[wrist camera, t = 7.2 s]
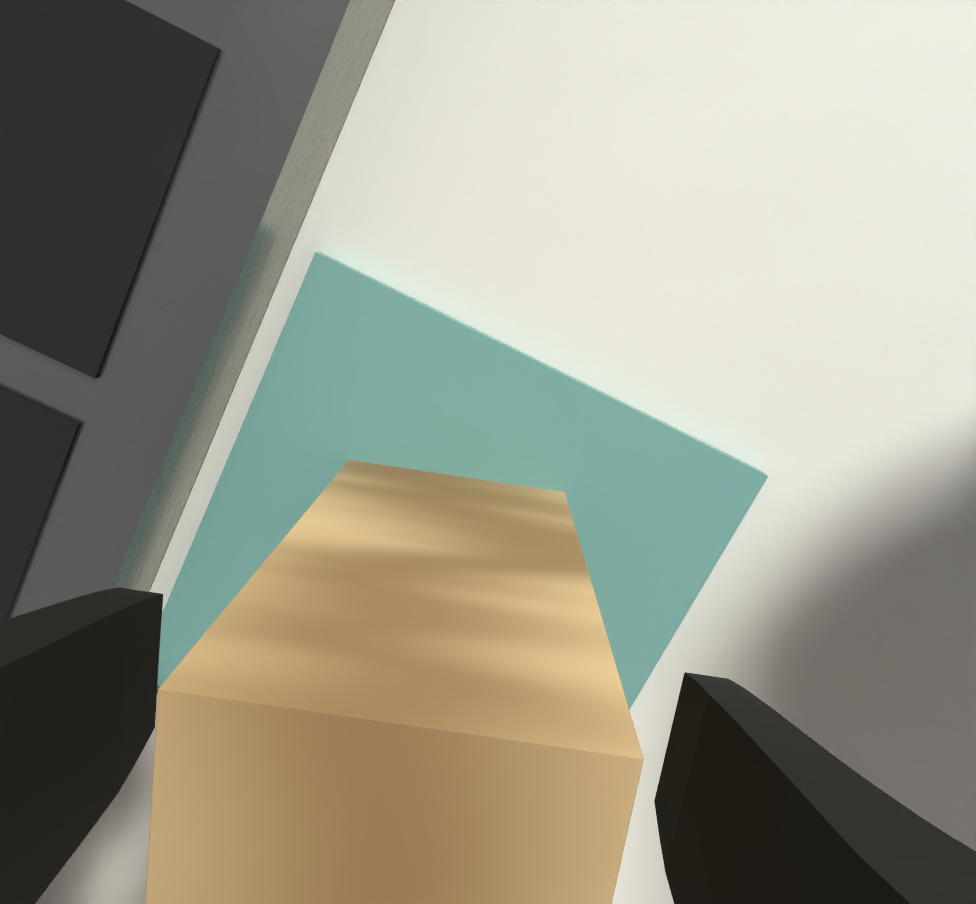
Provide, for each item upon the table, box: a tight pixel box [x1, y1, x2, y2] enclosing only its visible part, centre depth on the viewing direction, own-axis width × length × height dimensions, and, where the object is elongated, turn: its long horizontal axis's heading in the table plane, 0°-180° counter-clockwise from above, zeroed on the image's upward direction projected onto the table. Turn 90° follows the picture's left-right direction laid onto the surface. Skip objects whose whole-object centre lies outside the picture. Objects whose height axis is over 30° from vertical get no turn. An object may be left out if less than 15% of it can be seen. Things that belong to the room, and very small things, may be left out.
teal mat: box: [157, 252, 768, 709], centre depth 15 cm, size 9×9×1 cm
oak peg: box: [146, 460, 644, 904], centre depth 11 cm, size 4×4×8 cm
